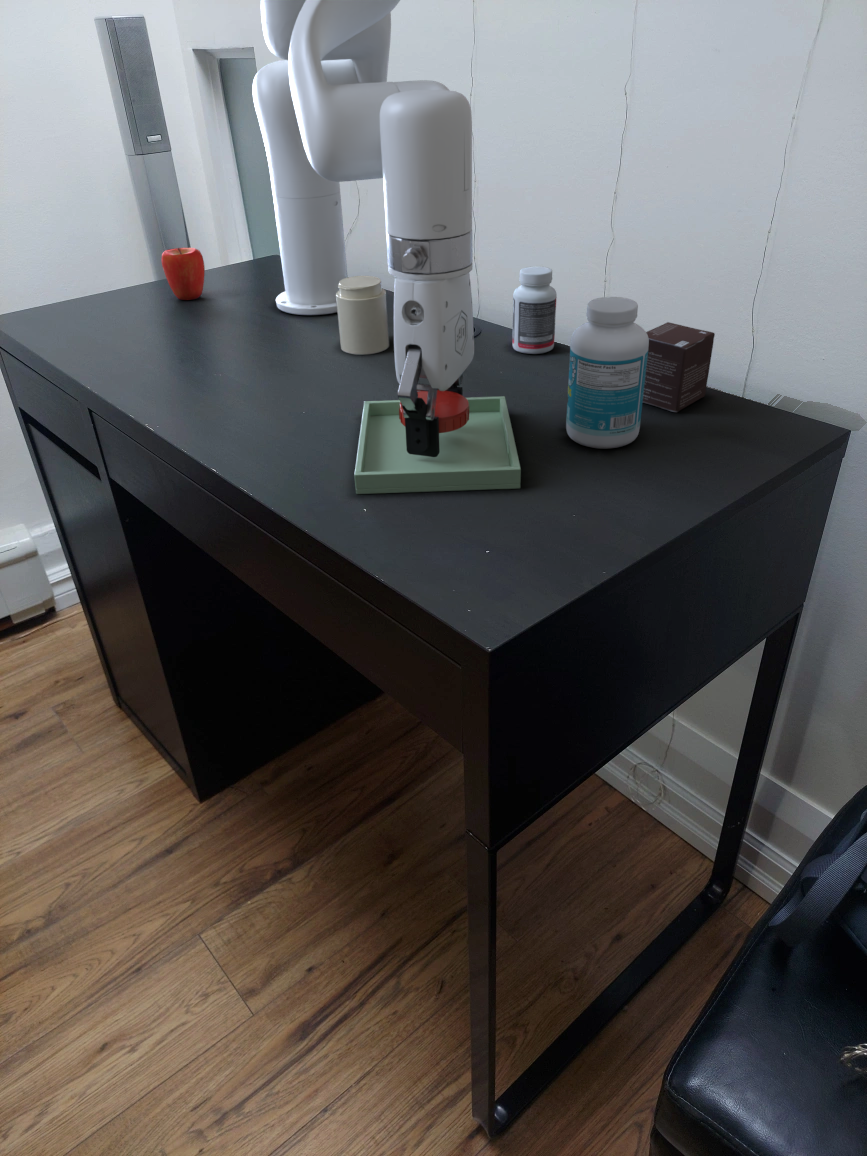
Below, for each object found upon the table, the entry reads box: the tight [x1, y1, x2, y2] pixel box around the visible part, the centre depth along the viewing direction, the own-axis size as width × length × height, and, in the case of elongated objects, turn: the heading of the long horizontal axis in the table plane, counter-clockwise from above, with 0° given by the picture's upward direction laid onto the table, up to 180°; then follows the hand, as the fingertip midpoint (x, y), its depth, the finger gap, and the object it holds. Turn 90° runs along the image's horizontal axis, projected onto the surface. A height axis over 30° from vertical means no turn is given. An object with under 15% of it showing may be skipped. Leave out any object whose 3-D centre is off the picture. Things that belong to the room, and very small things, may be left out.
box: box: [642, 321, 716, 413], centre depth 92 cm, size 6×6×7 cm
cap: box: [399, 390, 469, 433], centre depth 83 cm, size 7×7×2 cm
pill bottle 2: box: [565, 296, 649, 450], centre depth 83 cm, size 8×7×14 cm
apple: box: [161, 247, 206, 301], centre depth 131 cm, size 6×6×8 cm
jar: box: [336, 275, 390, 356], centre depth 109 cm, size 6×6×8 cm
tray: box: [353, 395, 522, 495], centre depth 84 cm, size 17×15×2 cm
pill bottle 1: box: [511, 265, 558, 355], centre depth 106 cm, size 5×5×10 cm
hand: (435, 436), depth 84 cm, fingers closed on cap, 6 cm apart
